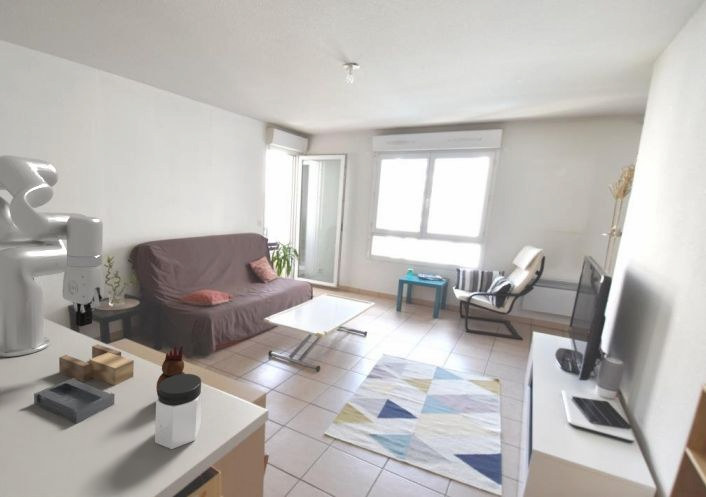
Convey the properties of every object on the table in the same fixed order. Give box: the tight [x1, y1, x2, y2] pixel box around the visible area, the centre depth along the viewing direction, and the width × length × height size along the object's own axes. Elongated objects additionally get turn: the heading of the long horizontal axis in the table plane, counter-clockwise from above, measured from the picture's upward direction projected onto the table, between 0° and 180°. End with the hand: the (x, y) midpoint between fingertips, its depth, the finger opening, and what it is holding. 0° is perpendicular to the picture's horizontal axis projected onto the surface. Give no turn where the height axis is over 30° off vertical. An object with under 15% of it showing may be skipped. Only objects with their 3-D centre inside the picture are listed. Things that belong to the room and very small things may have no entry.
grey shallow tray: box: [33, 377, 115, 424], centre depth 76 cm, size 15×8×3 cm, turn 71°
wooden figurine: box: [155, 343, 186, 396], centre depth 80 cm, size 7×6×15 cm
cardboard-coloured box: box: [88, 352, 135, 386], centre depth 88 cm, size 10×5×5 cm, turn 71°
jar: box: [154, 373, 203, 450], centre depth 69 cm, size 9×8×12 cm
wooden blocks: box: [58, 343, 122, 383], centre depth 91 cm, size 10×10×4 cm
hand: (84, 324), depth 90 cm, fingers closed
